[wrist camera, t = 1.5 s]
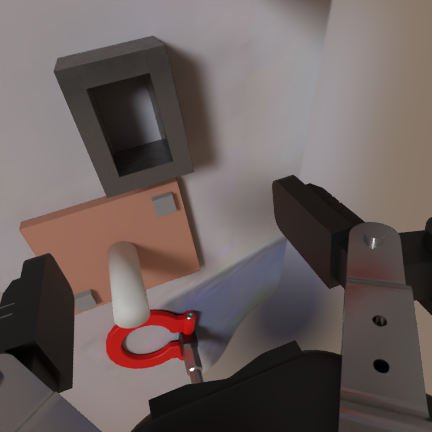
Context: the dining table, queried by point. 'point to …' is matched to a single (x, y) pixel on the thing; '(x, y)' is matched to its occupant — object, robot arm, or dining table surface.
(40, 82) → the dining table surface
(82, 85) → the grey hollow block
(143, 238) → the keeper plate
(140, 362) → the tow hook
